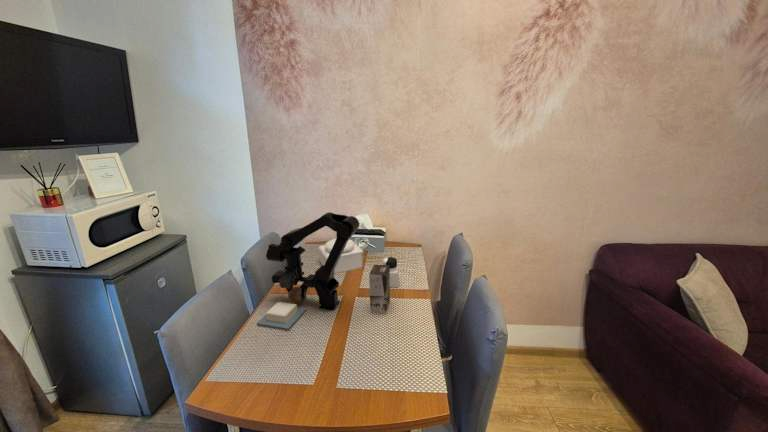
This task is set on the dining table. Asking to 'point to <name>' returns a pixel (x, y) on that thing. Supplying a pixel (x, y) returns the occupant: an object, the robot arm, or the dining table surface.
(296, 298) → the walnut block
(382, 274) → the coffee box
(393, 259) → the medicine bottle
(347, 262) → the white square box
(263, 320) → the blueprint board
